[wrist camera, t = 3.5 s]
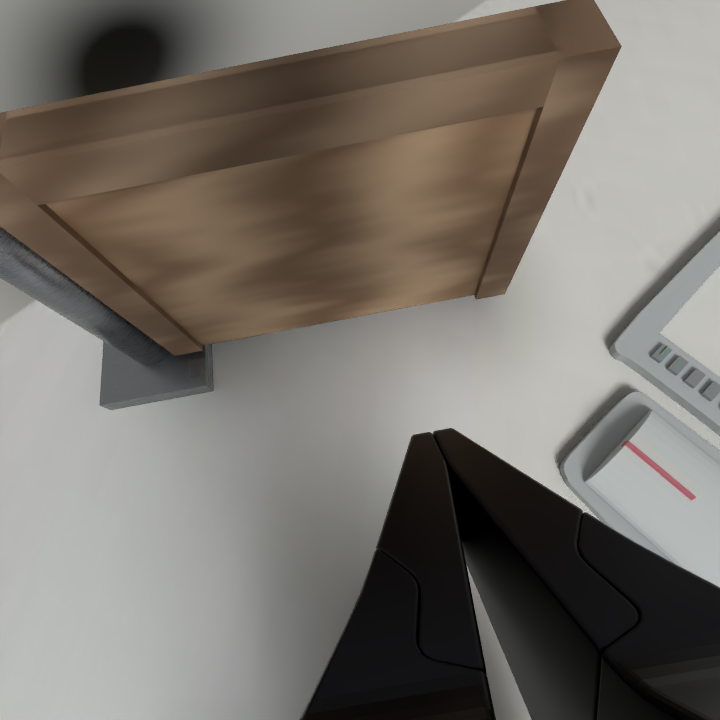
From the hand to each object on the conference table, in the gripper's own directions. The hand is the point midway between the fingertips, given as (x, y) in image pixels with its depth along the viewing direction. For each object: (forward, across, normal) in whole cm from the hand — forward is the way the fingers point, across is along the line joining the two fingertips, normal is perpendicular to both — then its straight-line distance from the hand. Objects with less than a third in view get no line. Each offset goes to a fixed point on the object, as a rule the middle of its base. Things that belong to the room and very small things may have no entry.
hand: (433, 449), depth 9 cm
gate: (+16, +2, +1) cm, 16 cm away
